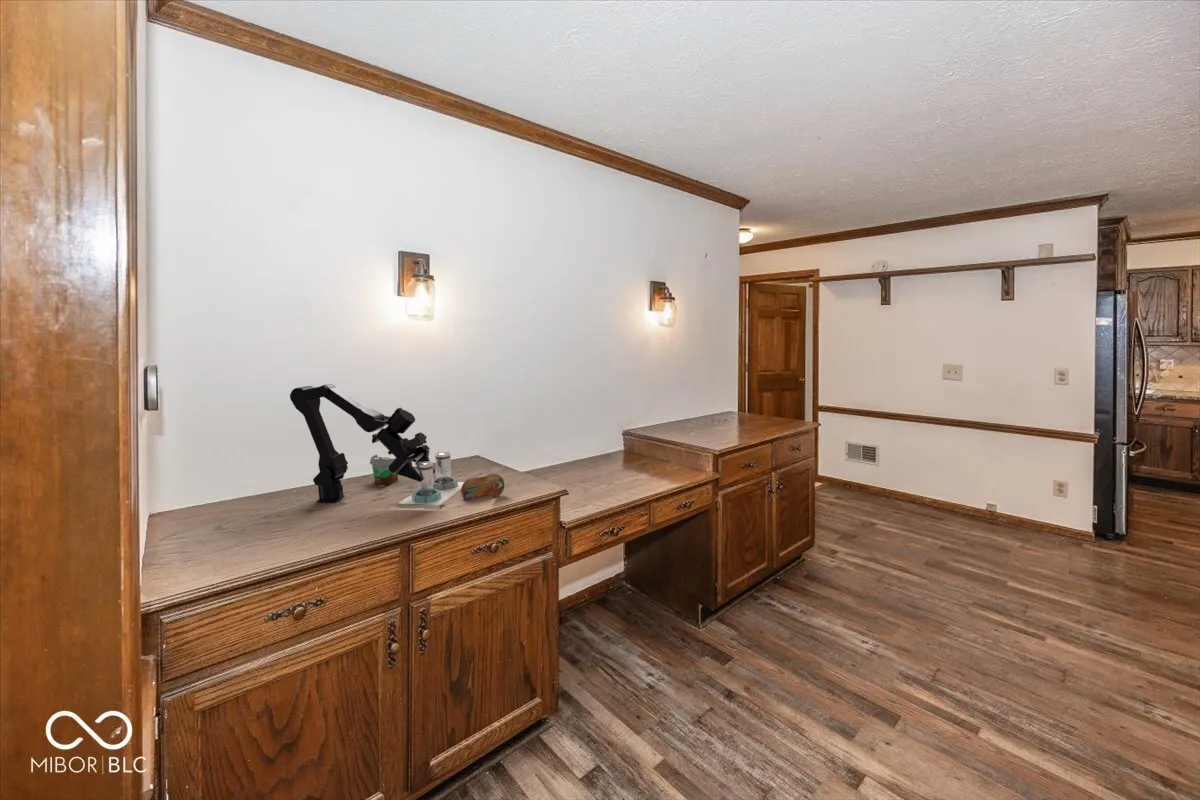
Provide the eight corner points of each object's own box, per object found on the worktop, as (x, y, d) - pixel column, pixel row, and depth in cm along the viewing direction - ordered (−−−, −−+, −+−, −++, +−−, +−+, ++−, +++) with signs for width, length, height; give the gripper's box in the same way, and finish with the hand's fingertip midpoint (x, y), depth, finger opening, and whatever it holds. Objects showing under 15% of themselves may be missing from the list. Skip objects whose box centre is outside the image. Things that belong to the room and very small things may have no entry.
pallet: (398, 507, 171) (397, 497, 171) (432, 485, 196) (432, 475, 196) (439, 509, 170) (439, 498, 169) (469, 486, 194) (468, 477, 194)
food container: (363, 484, 198) (362, 457, 197) (377, 479, 203) (376, 454, 202) (387, 488, 192) (385, 461, 191) (400, 484, 198) (398, 457, 196)
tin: (464, 505, 173) (463, 480, 172) (460, 503, 176) (459, 478, 174) (505, 496, 183) (504, 472, 182) (500, 494, 185) (500, 470, 184)
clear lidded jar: (434, 488, 187) (433, 455, 185) (439, 484, 192) (437, 451, 190) (449, 488, 187) (447, 454, 185) (453, 484, 192) (452, 451, 190)
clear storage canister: (419, 502, 172) (417, 466, 171) (417, 497, 177) (415, 462, 175) (435, 499, 175) (434, 464, 173) (432, 495, 179) (431, 460, 178)
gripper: (395, 431, 164) (431, 467, 164) (423, 421, 182) (455, 453, 182) (373, 456, 166) (408, 491, 166) (402, 443, 184) (434, 475, 184)
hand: (428, 476), depth 175 cm, fingers open, 9 cm apart
